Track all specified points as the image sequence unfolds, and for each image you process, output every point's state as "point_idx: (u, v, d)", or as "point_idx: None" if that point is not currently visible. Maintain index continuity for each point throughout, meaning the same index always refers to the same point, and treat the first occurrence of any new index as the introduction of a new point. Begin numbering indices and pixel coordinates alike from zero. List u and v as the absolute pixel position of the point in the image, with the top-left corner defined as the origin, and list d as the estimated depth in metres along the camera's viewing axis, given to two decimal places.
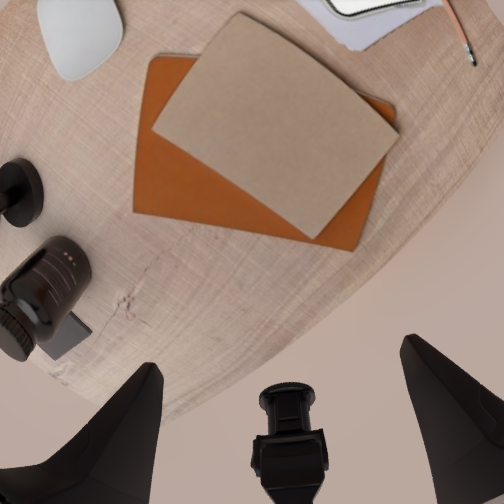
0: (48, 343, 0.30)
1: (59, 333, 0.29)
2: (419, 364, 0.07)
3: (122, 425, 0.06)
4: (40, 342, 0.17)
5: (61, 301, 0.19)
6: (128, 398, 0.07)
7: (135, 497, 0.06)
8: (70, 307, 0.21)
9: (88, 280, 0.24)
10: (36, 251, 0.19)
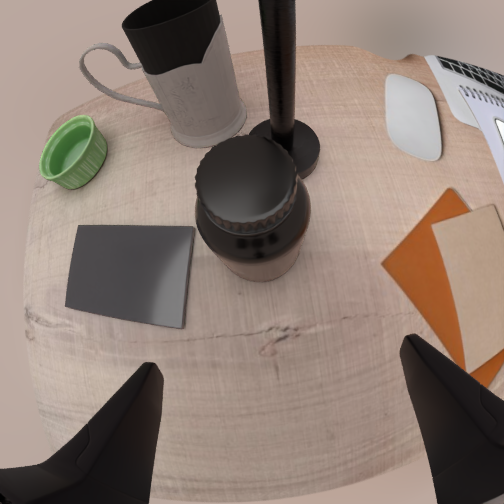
0: (90, 284, 0.24)
1: (130, 290, 0.23)
2: (419, 364, 0.07)
3: (122, 425, 0.06)
4: (239, 246, 0.14)
5: (297, 250, 0.17)
6: (128, 398, 0.07)
7: (135, 497, 0.05)
8: (275, 269, 0.18)
9: (278, 276, 0.22)
10: None
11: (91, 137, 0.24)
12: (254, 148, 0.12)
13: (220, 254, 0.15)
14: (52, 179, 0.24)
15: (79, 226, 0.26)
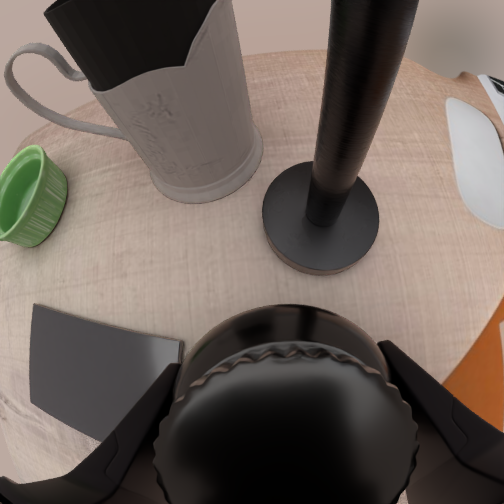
0: (54, 387, 0.15)
1: (102, 411, 0.14)
2: None
3: (152, 430, 0.06)
4: None
5: None
6: (157, 401, 0.07)
7: None
8: None
9: None
10: None
11: (39, 182, 0.16)
12: (323, 409, 0.04)
13: None
14: None
15: (34, 305, 0.17)
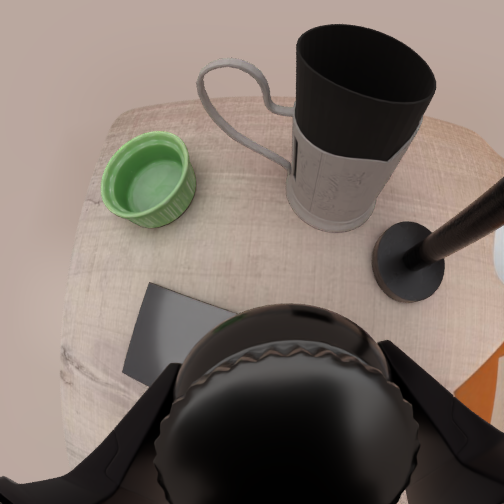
0: (161, 361, 0.21)
1: None
2: None
3: (152, 430, 0.06)
4: None
5: None
6: (157, 401, 0.07)
7: None
8: None
9: None
10: None
11: (184, 176, 0.22)
12: (324, 408, 0.04)
13: None
14: (120, 216, 0.21)
15: (150, 284, 0.23)
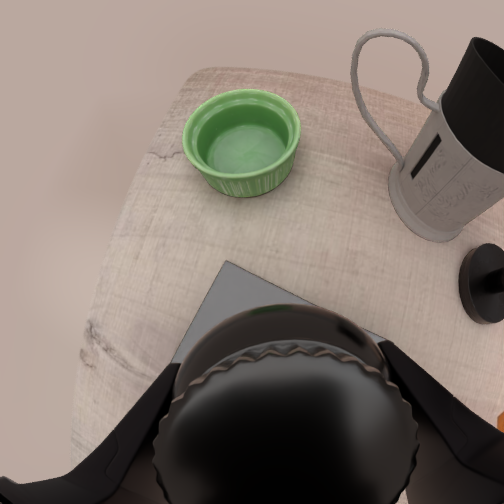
0: None
1: None
2: None
3: (152, 430, 0.06)
4: None
5: None
6: (157, 401, 0.07)
7: None
8: None
9: None
10: None
11: (296, 144, 0.18)
12: (323, 408, 0.04)
13: None
14: (208, 174, 0.18)
15: (227, 263, 0.20)
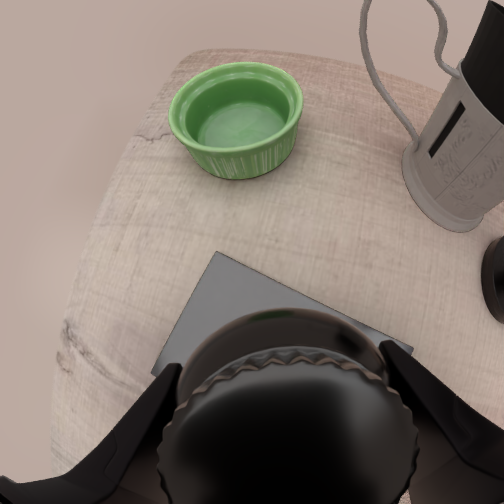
0: None
1: None
2: (392, 371, 0.07)
3: (151, 429, 0.06)
4: None
5: None
6: (155, 401, 0.07)
7: (161, 503, 0.05)
8: None
9: None
10: None
11: (298, 116, 0.15)
12: (325, 415, 0.04)
13: None
14: (195, 149, 0.15)
15: (218, 254, 0.17)
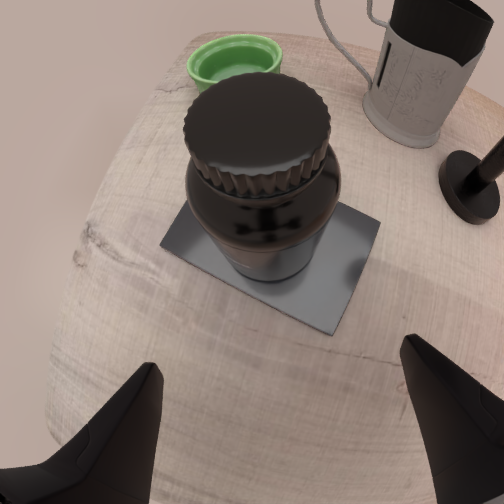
0: None
1: None
2: (419, 364, 0.07)
3: (122, 425, 0.06)
4: (244, 222, 0.10)
5: (320, 236, 0.13)
6: (128, 398, 0.07)
7: (135, 498, 0.05)
8: (290, 262, 0.14)
9: (291, 274, 0.18)
10: None
11: (278, 63, 0.20)
12: (269, 85, 0.08)
13: (217, 235, 0.11)
14: (206, 83, 0.20)
15: None
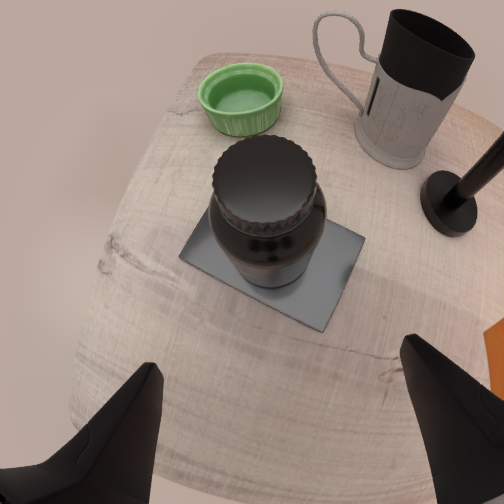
0: None
1: None
2: (419, 364, 0.07)
3: (122, 425, 0.06)
4: (255, 248, 0.14)
5: (311, 254, 0.17)
6: (128, 398, 0.07)
7: (135, 497, 0.06)
8: (288, 274, 0.18)
9: (289, 282, 0.22)
10: None
11: (279, 94, 0.24)
12: (273, 148, 0.12)
13: (234, 256, 0.15)
14: (216, 113, 0.24)
15: None
